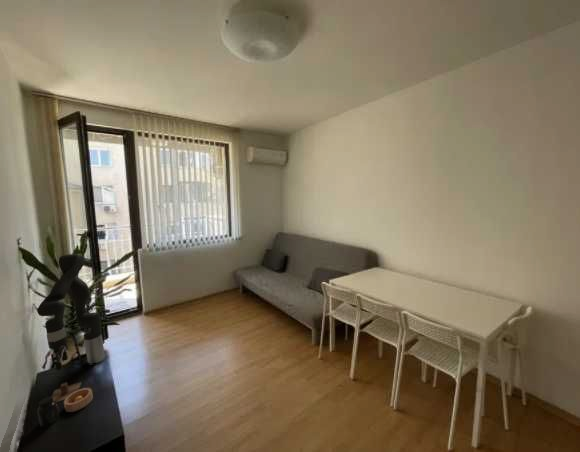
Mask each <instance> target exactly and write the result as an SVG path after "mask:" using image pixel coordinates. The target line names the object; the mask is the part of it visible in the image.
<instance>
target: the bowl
mask: <svg viewBox="0 0 580 452" xmlns="http://www.w3.org/2000/svg"><path fill="white" fill-rule="evenodd" d="M93 395H94V394H93V389H92V388H90V387H83V388H79V390H77V391H75V392H73V393H72V394H70V395H69V396H68V397H67V398H66V399H65V400H63V407H64V410H65V411H66V412H67V413H73V412H76V411H79V410H81V409H83V408H85V407H86V406H88V404H90V403H91V402H92V401H93V397H94V396H93ZM78 396H83V399H81V400H79V401H77V402H74V400H75V398H76V397H78Z"/></svg>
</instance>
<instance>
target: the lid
mask: <svg viewBox="0 0 580 452" xmlns="http://www.w3.org/2000/svg"><path fill="white" fill-rule="evenodd" d="M81 386H82V381H79V382H76V383H73V384H70V385H68V382H64V383H61V385H60V388H57V389H54V391H53V393H52V395H51V396H50V397H53V401H56V402H57V403H59V402H64V401H65V399H66V398H67V397H68V396H69V395H70V394H72V393H73V392H75V391H77V390H80V389H81V388H80V387H81Z"/></svg>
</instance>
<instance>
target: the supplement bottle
mask: <svg viewBox="0 0 580 452" xmlns="http://www.w3.org/2000/svg"><path fill="white" fill-rule="evenodd" d="M37 416H38V421H39V425H40V427H41V428H46V427H49V426H50V425H53V424H54V423H56V422H57V421H58V420H59V418H60V411H59V406H58V402H56V401H53V397H51V396H47V397H45V398H43V399H41V400H40V401H39V402H38V408H37Z"/></svg>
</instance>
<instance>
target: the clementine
mask: <svg viewBox="0 0 580 452" xmlns="http://www.w3.org/2000/svg"><path fill="white" fill-rule="evenodd" d="M81 399H83V396H78V397H76V398H75V400H74V402H77V401H79V400H81Z"/></svg>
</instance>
